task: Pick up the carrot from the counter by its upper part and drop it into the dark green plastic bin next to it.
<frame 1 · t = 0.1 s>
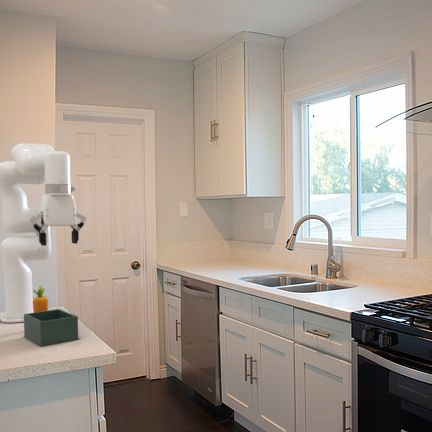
hand: (59, 244, 172), 31 cm above the counter, tool pointing down, fingers open, 9 cm apart
carrot: (41, 329, 190), on the counter
bin: (51, 338, 177), on the counter
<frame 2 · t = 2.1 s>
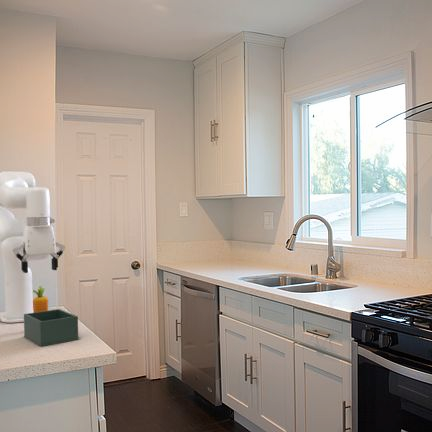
hand: (40, 271, 189), 20 cm above the counter, tool pointing down, fingers open, 9 cm apart
nothing on the counter moved.
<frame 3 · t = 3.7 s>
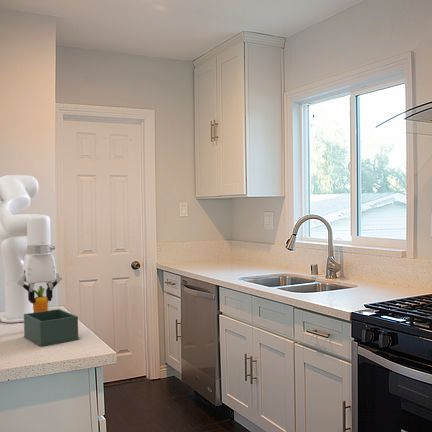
hand: (40, 301, 190), 10 cm above the counter, tool pointing down, fingers closed on carrot, 4 cm apart
carrot: (41, 329, 190), on the counter, touching gripper
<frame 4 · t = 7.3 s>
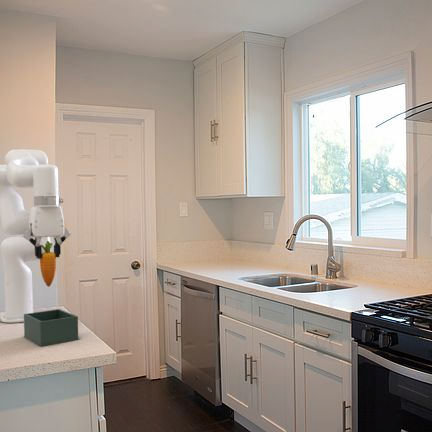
hand: (47, 257, 178), 27 cm above the counter, tool pointing down, fingers closed on carrot, 4 cm apart
carrot: (48, 287, 178), point 17 cm above the counter, touching gripper
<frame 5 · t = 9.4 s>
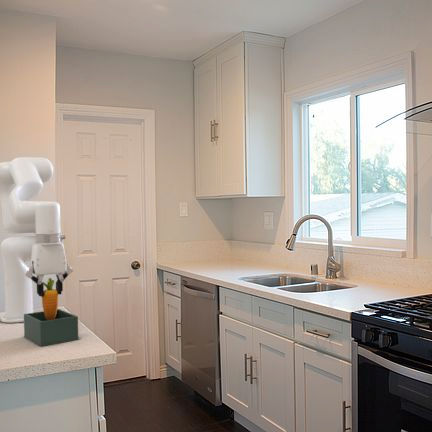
hand: (50, 294, 176), 14 cm above the counter, tool pointing down, fingers closed on carrot, 4 cm apart
carrot: (50, 324, 177), point 4 cm above the counter, touching gripper
when the fingers open (10 cm above the counter, at t = 10.8 s): carrot stays where it is, resting on bin.
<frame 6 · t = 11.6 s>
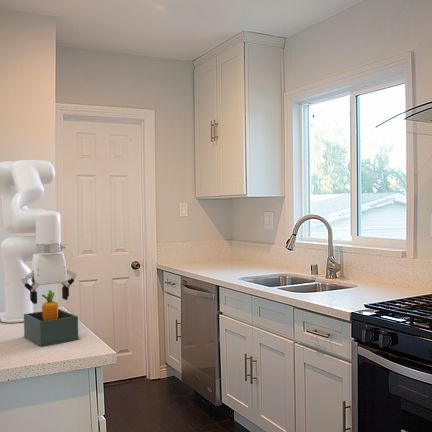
hand: (50, 301, 177), 12 cm above the counter, tool pointing down, fingers open, 9 cm apart
carrot: (50, 336, 177), resting on bin
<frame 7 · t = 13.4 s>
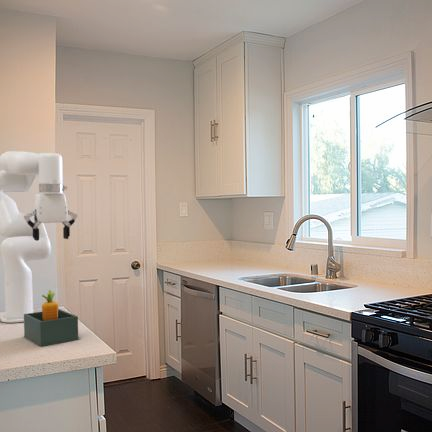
hand: (51, 239, 185), 32 cm above the counter, tool pointing down, fingers open, 9 cm apart
nothing on the counter moved.
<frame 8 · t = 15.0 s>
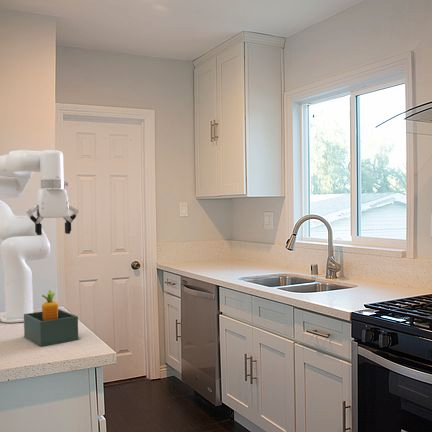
hand: (53, 234, 190), 33 cm above the counter, tool pointing down, fingers open, 9 cm apart
nothing on the counter moved.
at the end: carrot inside the target area in the bin (0.0 cm from its centre), point 0.4 cm above the bin's base; the gripper is holding nothing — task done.
